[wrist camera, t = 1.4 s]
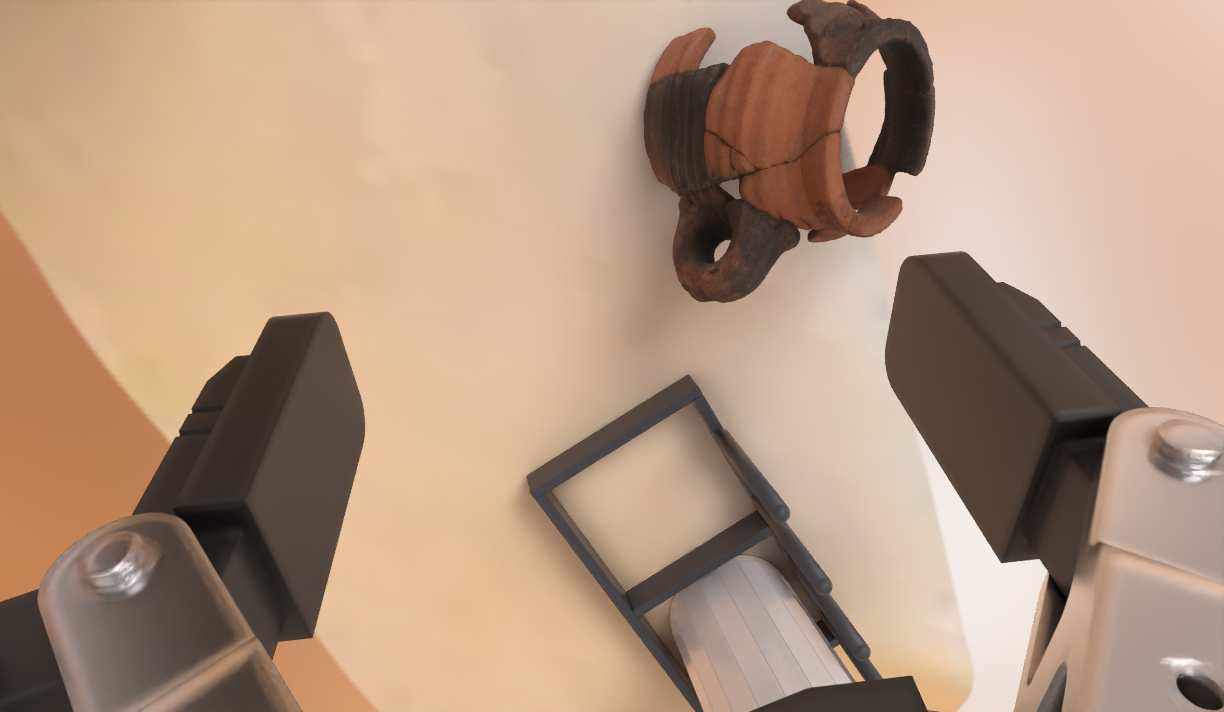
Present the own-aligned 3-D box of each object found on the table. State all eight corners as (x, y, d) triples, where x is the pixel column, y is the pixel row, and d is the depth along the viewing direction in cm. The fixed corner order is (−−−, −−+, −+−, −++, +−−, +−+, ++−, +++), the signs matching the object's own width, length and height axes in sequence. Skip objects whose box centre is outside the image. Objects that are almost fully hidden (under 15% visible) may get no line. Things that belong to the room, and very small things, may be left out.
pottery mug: (685, -49, 29) (886, -78, 23) (799, 87, 36) (976, 90, 30) (560, 242, 28) (733, 286, 23) (700, 324, 35) (860, 373, 30)
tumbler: (646, 600, 38) (736, 840, 26) (756, 531, 38) (898, 739, 26) (703, 679, 40) (810, 931, 29) (807, 615, 40) (958, 840, 28)
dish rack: (526, 475, 34) (549, 592, 26) (690, 372, 34) (762, 460, 26) (698, 705, 41) (757, 854, 33) (835, 620, 41) (928, 748, 33)
